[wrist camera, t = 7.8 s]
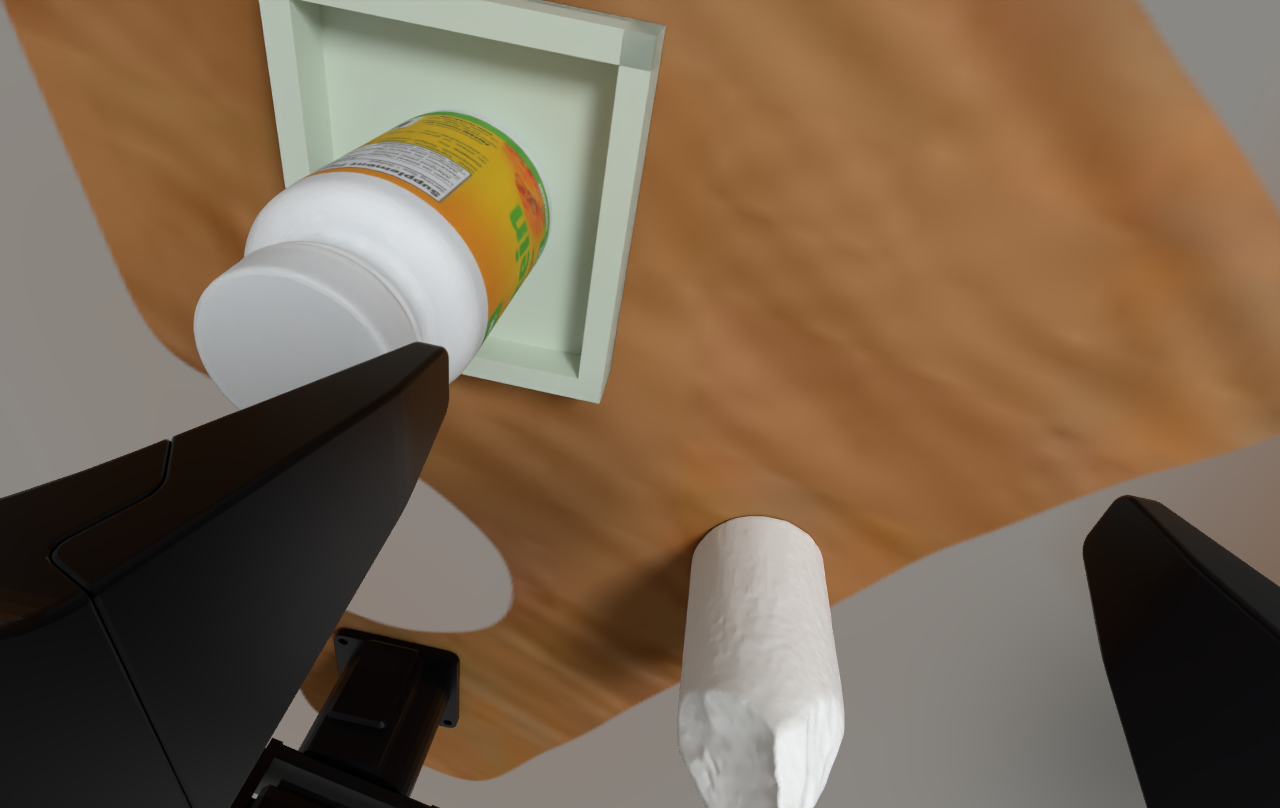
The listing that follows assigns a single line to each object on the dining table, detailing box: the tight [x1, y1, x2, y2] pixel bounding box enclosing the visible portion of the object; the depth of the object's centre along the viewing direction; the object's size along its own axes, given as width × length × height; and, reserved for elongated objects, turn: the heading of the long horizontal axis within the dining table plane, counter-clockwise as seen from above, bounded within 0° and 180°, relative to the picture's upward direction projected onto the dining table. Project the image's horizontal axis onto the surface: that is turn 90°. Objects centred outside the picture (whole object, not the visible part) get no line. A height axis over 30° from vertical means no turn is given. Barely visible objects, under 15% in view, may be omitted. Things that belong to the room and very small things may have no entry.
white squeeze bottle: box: [677, 516, 844, 808], centre depth 24 cm, size 6×12×6 cm
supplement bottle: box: [194, 110, 552, 410], centre depth 17 cm, size 5×5×10 cm
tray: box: [259, 0, 666, 404], centre depth 21 cm, size 11×10×2 cm
